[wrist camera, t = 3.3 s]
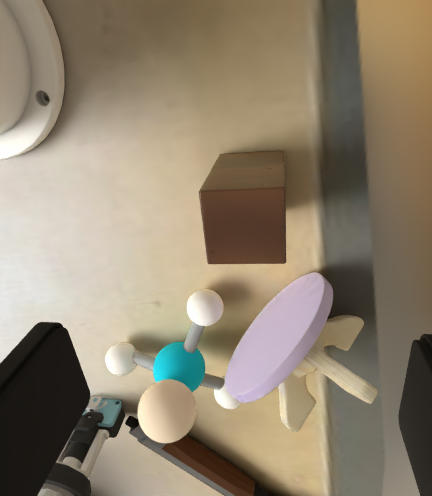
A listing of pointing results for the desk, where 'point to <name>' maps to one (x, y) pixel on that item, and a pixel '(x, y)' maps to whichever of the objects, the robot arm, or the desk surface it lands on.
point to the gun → (200, 463)
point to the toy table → (295, 350)
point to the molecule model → (175, 374)
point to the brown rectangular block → (245, 209)
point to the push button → (84, 448)
